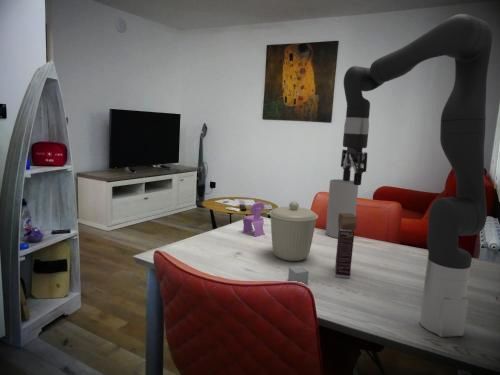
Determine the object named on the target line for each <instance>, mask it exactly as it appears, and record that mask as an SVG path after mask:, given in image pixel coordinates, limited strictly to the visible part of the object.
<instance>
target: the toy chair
mask: <svg viewBox="0 0 500 375" xmlns="http://www.w3.org/2000/svg"><path fill="white" fill-rule="evenodd" d="M264 209H265V203H264V202H262V201H258V202H254V203H252V204H251V205H250V206H249V212H250V213H251V214H252V215H247V216H243V219H242V224H243V228H242V233H247V232H246V231H249V232H252V231H251V230H254V233H253V238H257V237H262V236H265V235H266V234H265V231H264V217H261V214H262V211H264ZM261 235H262V236H261Z"/></svg>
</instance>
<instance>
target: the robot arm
mask: <svg viewBox="0 0 500 375" xmlns="http://www.w3.org/2000/svg"><path fill="white" fill-rule="evenodd" d="M492 42H493V31H492V28H491V26H490V25H489V23H488V22H486V21H485V20H483V19H480V18H477V17H475V16H472V15H470V14H466V13H465V14H464V13H459V14H455V15H452V16H451V17H449V18H447V19H446V20H443V21H442V22H440V23H439V24H437V25H436V26H435V27H433V28H431V29H430V30H428V31H427V32H425V33H423V34H422V35H421V36H419V37H418V38H416V39H414V40H413V41H411V42H409V43H408V44H406V45H404V46H403V47H401V48H399V49H397V50H395V51H392V52H390V53H388V54H386V55H384V56H381V57H379V58H377V59H375V60H374V61H373V62H372V63H371V65H370V67H364V66H356V65H353V66H351V67H349V68H348V69H347V70H346V72H345V74H344V76H343V89H344V94H345V100H346V113H345V121H344V126H343V138H342V147H343V148H346V149H342V151H341V159H340V167H341V168H342V170H343V172H342V173H343V175H342V180H343V181H350V180H351V170H352V168H353V172H354V173H353V175H354V176H353V181H354V183H353V184H354V185H358V186H361V185H362V176H363V173H366V172H367V167H368V166H367V165H368V152H366V151H363V149H367V148H368V142H369V140H368V138H369V132H370V130H369V129H370V121H369V120H370V110H371V103H370V100H368V99H367V98H366V97H364V96H363V92H370V91H373V90H375V89H377V88H379V87H381V86H382V85H384V83H386V82H391V81H393V80H395V79H398V78H401V77H403V76H405V75H406V74H408V73H409V72H411V71H412V70H413V69H414V68H415V67H416V66H417V65H419V64H420V63H422V62H424V61H427V60H429V59H433V58H434V59H435V58H439V57H443V56H447V57H449V58H452V59H454V64H455V67H454V68H455V70H454V71H455V72H454V74H455V75H454V76H455V77H454V82H453V83H454V85H453V87H452V90H451V92H450V95H449V97H448V98H447V100H446V102H445V105H444V107H443V109H442V112H441V115H440V129H439V130H440V134H439V135H440V136H439V139H440V140H439V141H440V146H441V148H442V151H443V152H444V156H445V157H446V159H447V160H448V162H449V164H450V166H451V168H452V170H453V173H454V176H455V182H456V196H453V197H452V196H448V197H445V196H444V197H439V198H436V199H435V200H434V202H433V203H432V204H431V206H430V209H429V211H428V212H429V214H428V221H427V222H428V223H427V235H426V248H427V252H428V255H427V262H426V270H425V276H424V277H425V278H424V286H423V292H422V299H421V309H420V314H419V324H420V325H421V326H422V327H423V328H424V329H426V330H427V331H429V332H430V333H433V334H435V335H438V336H439V337H441V338H443V337H444V338H445V337H463V336H464V332H465V326H466V320H467V312H468V306H469V299H468V298H467V291H468V284H469V279H470V271H471V266H472V259H473V258H472V254H471V253H470V252H469V251H467V250H466V249H464V248H460V247H459V237H464V236H475V235H478V234H479V233H481V232H482V231H483V229H485V226H486V223H487V215H488V213H487V212H488V210H487V196H486V185H485V138H486V119H487V118H486V106H487V105H486V104H487V79H488V71H489V62H490V57H491V51H492V44H493V43H492Z"/></svg>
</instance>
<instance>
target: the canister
mask: <svg viewBox="0 0 500 375" xmlns="http://www.w3.org/2000/svg"><path fill="white" fill-rule="evenodd" d="M268 215H269V216H270V230H271V244H272V245H271V246H272V250H273V251H272V252H273V254H274V256H276V257H277V258H279V259H281V260H284V261H290V262H292V261H293V262H297V261H303V260H305V259H307V258H308V256H309V254H310V252H311V248H312V243H313V238H314V232H315V228H316V221H317V219H318V218H319V215H318V214H317V213H315V212H314V211H313V210H311V209H308V208H305V207H300V205H299V202H298V201H290V202H289V204H288V206H279V207H275V208H273V209H272V210H270V211H269V212H268Z"/></svg>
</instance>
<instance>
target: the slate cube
mask: <svg viewBox="0 0 500 375" xmlns="http://www.w3.org/2000/svg"><path fill="white" fill-rule="evenodd" d="M309 273H310V271H309V270H308V269H307V268H304V267H303V266H302V265H299V266H298V265H297V266H291V267H288V277H287V281H288V282H289V281H297V282H302V283H304V284H306V285H305V286H308V285H309Z"/></svg>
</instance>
